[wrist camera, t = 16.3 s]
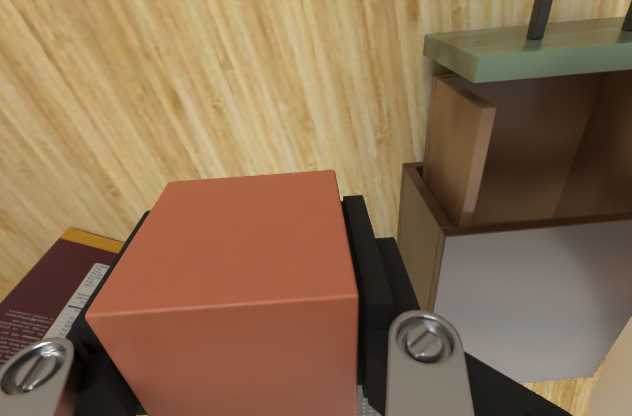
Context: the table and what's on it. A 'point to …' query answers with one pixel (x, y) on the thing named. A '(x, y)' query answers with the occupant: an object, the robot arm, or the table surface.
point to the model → (364, 405)
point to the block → (237, 301)
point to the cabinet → (520, 284)
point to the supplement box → (54, 290)
